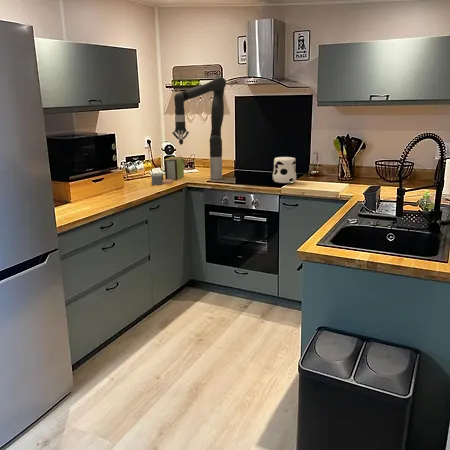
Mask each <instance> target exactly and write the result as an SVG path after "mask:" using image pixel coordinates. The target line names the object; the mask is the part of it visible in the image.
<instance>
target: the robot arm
mask: <svg viewBox="0 0 450 450" xmlns="http://www.w3.org/2000/svg"><path fill="white" fill-rule="evenodd" d="M226 85H227V80H226V79H225V78H224V77H223V76H217V77H214V79H212V80H210V81H209V82H206V83H204V84H200V85H197V86H194V87H191V88H188V89H186V90H184V91H180V92H178V93H176V94H175V95H174V97H173V99H174V115H175V116H174V123H175V124H174V125H175V128H174V131H172V135H173V136H174V137H175V138H176V139H177V140H178V143H179V145H181V146H182V145H183V144H184V140H185V139H186V138H187V137H188V135H189V134H190V131H188V130H187V127H186V115H185V102H186V101H188V100H192V99H194V98H198V97H199V96H200V97H201V96H203V95H204V94H207V93H209V92H213V97H212V103H211V104H212V105H211V110H210V111H211V112H210V113H211V115H210V121H211V125H210V126H211V129H210V135H209V136H210V137H209V162H210V163H209V168H210V169H209V171H210V173H209V174H210V176H209V177H210V180H213V181H214V180H217V181H218V180H223V140H222V126H223V121H224V113H225V104H224V103H225V102H224V95H225V87H226Z"/></svg>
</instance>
